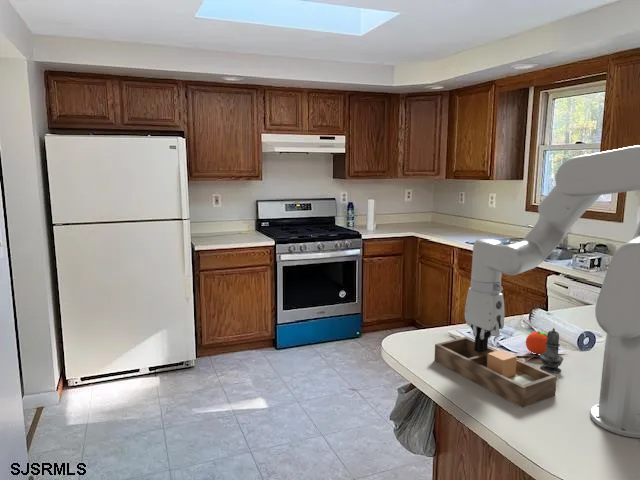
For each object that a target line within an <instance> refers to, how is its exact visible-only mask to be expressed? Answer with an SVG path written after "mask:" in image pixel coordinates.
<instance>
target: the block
mask: <svg viewBox="0 0 640 480" xmlns="http://www.w3.org/2000/svg"><path fill="white" fill-rule="evenodd" d="M517 357H518V356H517V355H514V354H513V353H511V352H510V353H509V352H507V351H505V350H504V349H499V350H498V351H494V352H491V353H488V357H487V368H489V369H491V370H493V371H495V372H497V373H499V374H501V375H503V376H505V377H510V376H513V375H516V361H517V359H518V358H517Z"/></svg>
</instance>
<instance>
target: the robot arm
mask: <svg viewBox="0 0 640 480" xmlns="http://www.w3.org/2000/svg"><path fill="white" fill-rule="evenodd" d="M635 191H640V145H639V144H637V145H633V146H632V145H631V146H627V147H622V148H618V149H612V150H606V151H601V152H595V153H591V154H584V155H578V156H573V157H570V158H568V159H567V160H565V161H564V162H563V163H562V164H561V165H560V166H559V167H558V169H557V171H556V174H555V186H554V187H552V189H551V190H550V191H549V193H548V194H547V195H546V196H545V197H544V198H543V199H542V200H541V202H540V203H539V205H538V206H537V211H538V214H539V216H538V220H537V222H536V224H535V225H534V227H533V228H532V229H531V230H530V231H529V232H528V233H527V235H525V236H524V238H523V239H522V240H521V241H517V242H514V243H513V242H512V243H510V244H503V242H502V241H501V240H498V239H492V238H478V239H476V240H475V241H474V243H473V247H472V260H471V274H470V286H469V288H468V291H467V294H466V299H465V300H466V301H465V306H464V320H465V324H466V325H467V326H469V327H470V328H471V330H472V334H473V337H474V340H475V346H474V350H475V351H477V352H479V353H481V352H484V351H487V346H488V345H489V343H488V341H489V339H490V338H491V337H494V338H495V337H499V336H500V335H501V333H500V330H502V329H504V327H505V300H504V299H505V298H504V294H503V293H502V291H504V287H503V286H502V276H503V275H502V274H504V275H508V276H517V275H519V274H522V273H524V272H527V271H530V270H533V269H536V268H537V267H538V266H539V265H541V264H542V263H543V262H544V261H545V260H546V259H547V258H548V257H549V256H550V255H551V254H552V253H553V251H555V250H556V248H557V247H558V246H559V245H561V242H562V241H563V239H564V238H565V237H566V235H567V234H568V233H569V230H570V228H571V227H572V226H574V224H575V223H576V222H577V221H579V219H580V218H581V217H582V216H583V214H584V213H586V211H588V210H589V208H590V207H591V206H592V205H593V204H594V203H595V202H596V201H597V200H598V199H599V198H600V196H603V195H610V194H617V193H626V192H635ZM594 310H595V311H594V314H595V318H596V319H595V320H596V322H597V324H598V325H599V327H600V328H601V330H602V331H603V332H604V333H606V335H605V344H604V352H603V359H602V360H603V361H602V370H601V379H600V381H601V382H600V391H599V398H598V399H599V400H598V403H597V404H595V405H592V407H591V408H590V410H589V415H590V419H591V420H592V421H593V422H594V423H595V424H596V425H598V426H599V427H601V428H602V429H604V430H607V431H609V432H611V433H613V434H617V435H619V436H620V435H621V436H623V437H629V438H635V439H640V221H639V222H638V226H637V229H636V231H635V233H634V235H633V237H632V239H631V240H629V241H626V242H625V243H623V244H622V245H621V246H620V247H619V248H617V249H616V250H615V252H614V254H613V255H612V257H611V259H610V261H609V264H608V267H607V270H606V272H605V276H604V279H603V282H602V286H601V288H600V291H599V293H598V297H597V300H596V304H595V308H594Z"/></svg>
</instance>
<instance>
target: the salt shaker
mask: <svg viewBox="0 0 640 480" xmlns="http://www.w3.org/2000/svg"><path fill="white" fill-rule="evenodd" d="M559 341H560V334H559V332H557V331H556V329H555V327H552V329H551V330H550V331H548V332H547V342H546V343H545V344H546V352H545V353H542V354H540V355H539V357H540V361H541V363H542V365H540V367H539V369H541V370H543V371H546V372H548V373H550V374H552V375H555V374H556V375H557V374H558V375H559V374H560V373H561V372H562V369H561V368H560V366H561V365H562V363H563V362H564V357H562V356H561V355H559V347H560V346H561V344H560V343H559Z"/></svg>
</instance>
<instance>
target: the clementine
mask: <svg viewBox="0 0 640 480" xmlns="http://www.w3.org/2000/svg"><path fill="white" fill-rule="evenodd" d="M547 334H548V332H547V333H546V332H543V331H533V332H531V333H529V334H528V335H527V337H526V338H525V339H526V340H525V346H526V348H527V350H528V351H529V352H530V351H531V352H533V353H536V354H542V353H545V352H546V344H545V343H546V342H547ZM531 352H530V353H531Z"/></svg>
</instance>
